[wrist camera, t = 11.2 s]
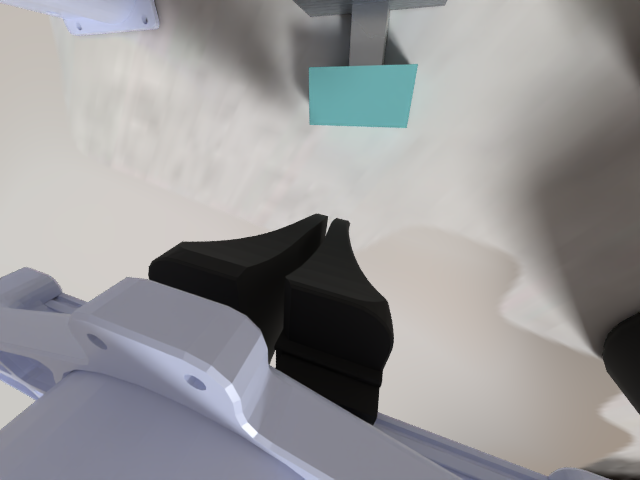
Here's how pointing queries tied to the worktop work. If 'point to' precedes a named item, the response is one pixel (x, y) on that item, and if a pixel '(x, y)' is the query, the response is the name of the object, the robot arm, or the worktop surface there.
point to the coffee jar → (625, 358)
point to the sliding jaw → (362, 69)
